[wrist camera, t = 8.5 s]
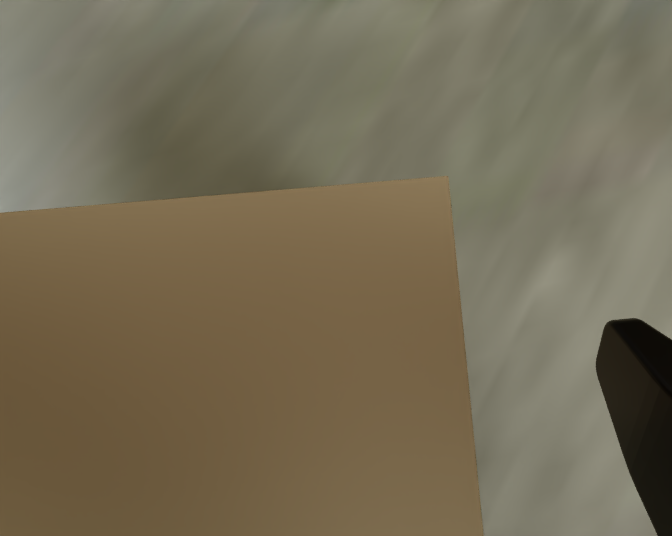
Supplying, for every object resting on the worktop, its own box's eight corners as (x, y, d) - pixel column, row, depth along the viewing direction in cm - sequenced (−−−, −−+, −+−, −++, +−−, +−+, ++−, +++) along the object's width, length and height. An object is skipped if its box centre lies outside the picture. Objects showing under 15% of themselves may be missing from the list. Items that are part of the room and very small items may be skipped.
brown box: (397, 426, 16) (508, 704, 4) (265, 435, 16) (-32, 732, 4) (386, 294, 17) (454, 170, 4) (258, 303, 17) (-29, 208, 4)
